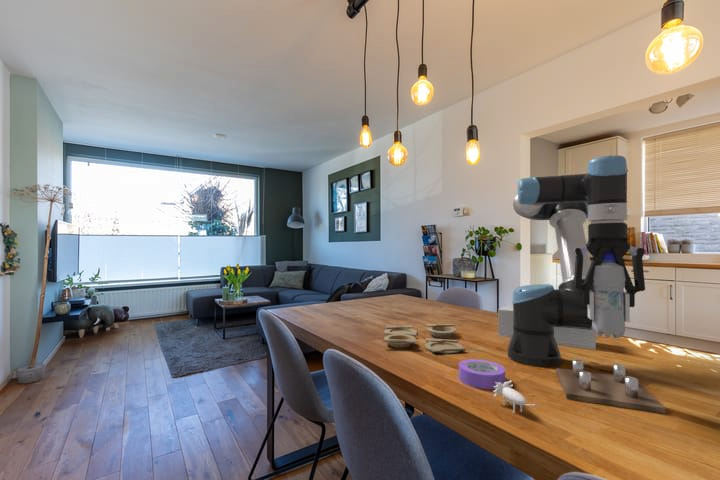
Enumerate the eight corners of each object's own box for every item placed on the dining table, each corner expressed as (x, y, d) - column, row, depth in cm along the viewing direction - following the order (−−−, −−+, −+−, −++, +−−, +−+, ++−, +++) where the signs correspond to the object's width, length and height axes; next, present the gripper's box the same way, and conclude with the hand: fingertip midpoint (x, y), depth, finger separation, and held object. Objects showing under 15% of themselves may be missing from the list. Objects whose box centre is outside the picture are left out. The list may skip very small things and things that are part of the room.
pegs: (580, 390, 80) (580, 373, 80) (571, 373, 90) (571, 359, 90) (640, 398, 75) (639, 380, 75) (623, 380, 86) (623, 364, 86)
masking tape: (512, 380, 90) (512, 366, 90) (494, 394, 81) (494, 378, 81) (470, 369, 98) (470, 356, 98) (450, 380, 89) (450, 366, 89)
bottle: (584, 332, 83) (583, 251, 83) (609, 331, 83) (609, 251, 83) (606, 340, 76) (606, 252, 76) (634, 339, 77) (633, 252, 76)
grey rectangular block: (498, 336, 135) (497, 309, 135) (504, 330, 143) (504, 305, 144) (595, 350, 116) (594, 319, 116) (596, 343, 124) (595, 314, 125)
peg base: (566, 398, 78) (566, 393, 78) (556, 372, 95) (556, 368, 95) (665, 413, 71) (665, 408, 71) (635, 382, 87) (635, 377, 88)
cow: (488, 399, 78) (488, 379, 78) (508, 397, 79) (508, 376, 79) (524, 426, 66) (524, 402, 66) (547, 423, 67) (547, 399, 67)
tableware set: (385, 329, 148) (385, 319, 148) (454, 331, 144) (453, 321, 144) (378, 353, 113) (378, 341, 113) (468, 357, 109) (468, 345, 109)
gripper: (563, 223, 80) (563, 319, 80) (665, 220, 72) (666, 327, 72) (558, 224, 87) (559, 313, 87) (651, 221, 79) (652, 319, 79)
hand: (607, 319), depth 80 cm, fingers closed on bottle, 6 cm apart
